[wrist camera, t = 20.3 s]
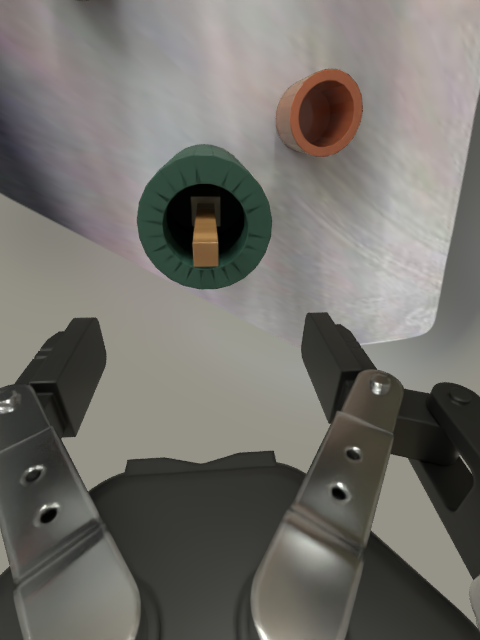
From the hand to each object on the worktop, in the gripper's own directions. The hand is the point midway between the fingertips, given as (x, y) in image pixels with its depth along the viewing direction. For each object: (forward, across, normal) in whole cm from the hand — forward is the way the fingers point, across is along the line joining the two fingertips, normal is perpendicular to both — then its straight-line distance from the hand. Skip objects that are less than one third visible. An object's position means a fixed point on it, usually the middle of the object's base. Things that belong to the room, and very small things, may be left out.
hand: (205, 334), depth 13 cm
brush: (+29, 0, 0) cm, 29 cm away
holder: (+30, -11, -8) cm, 33 cm away
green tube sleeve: (+30, 0, 0) cm, 30 cm away
